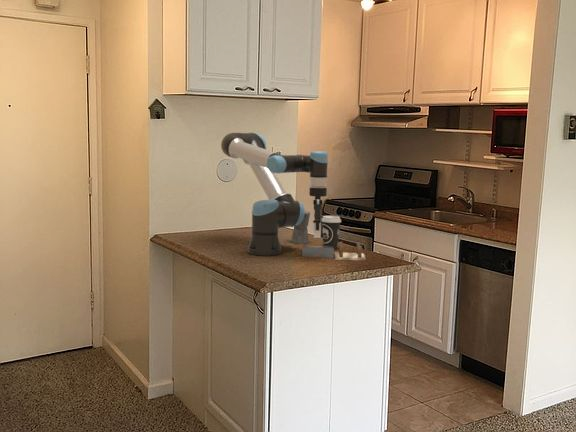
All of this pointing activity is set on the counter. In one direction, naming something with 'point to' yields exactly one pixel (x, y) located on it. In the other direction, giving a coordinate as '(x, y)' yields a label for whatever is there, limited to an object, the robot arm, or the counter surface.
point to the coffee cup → (330, 230)
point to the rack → (350, 256)
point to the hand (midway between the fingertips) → (317, 235)
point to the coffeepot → (301, 231)
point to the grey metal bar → (318, 251)
